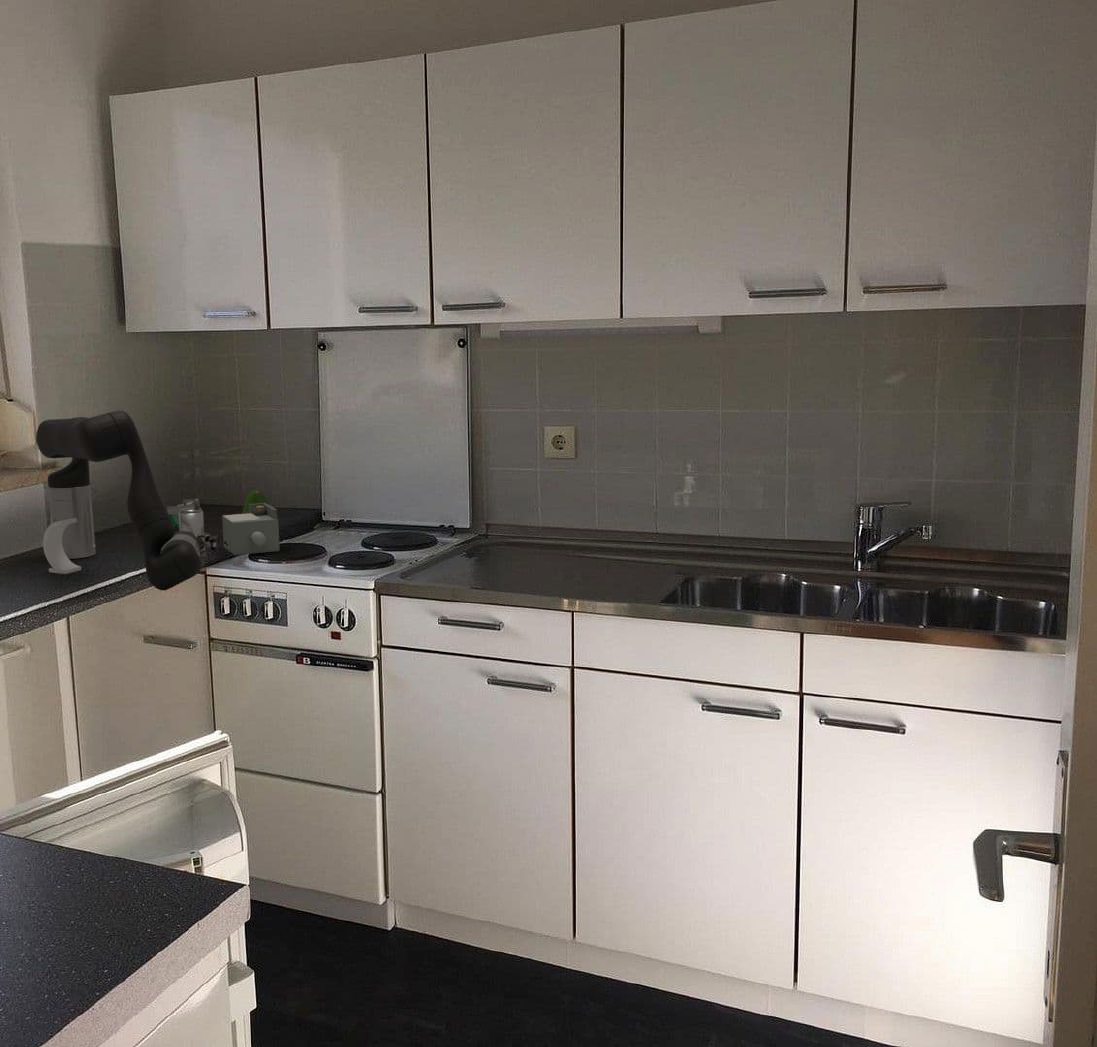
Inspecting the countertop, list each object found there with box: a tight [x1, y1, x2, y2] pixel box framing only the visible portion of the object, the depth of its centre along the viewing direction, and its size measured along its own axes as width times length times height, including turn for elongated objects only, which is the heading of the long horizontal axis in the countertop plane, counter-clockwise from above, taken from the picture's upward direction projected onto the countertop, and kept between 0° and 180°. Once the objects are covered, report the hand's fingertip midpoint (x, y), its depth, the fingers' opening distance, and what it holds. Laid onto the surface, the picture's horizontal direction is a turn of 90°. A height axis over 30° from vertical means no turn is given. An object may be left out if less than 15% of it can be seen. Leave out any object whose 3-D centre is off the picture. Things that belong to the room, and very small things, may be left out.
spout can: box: [179, 498, 207, 559], centre depth 255 cm, size 6×6×14 cm
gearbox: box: [221, 503, 281, 556], centre depth 264 cm, size 11×15×10 cm
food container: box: [166, 499, 201, 533], centre depth 276 cm, size 12×6×10 cm, turn 179°
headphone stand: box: [42, 518, 82, 575], centre depth 241 cm, size 5×6×12 cm
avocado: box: [241, 489, 271, 514], centre depth 284 cm, size 8×8×12 cm
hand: (187, 538), depth 245 cm, fingers open, 8 cm apart
